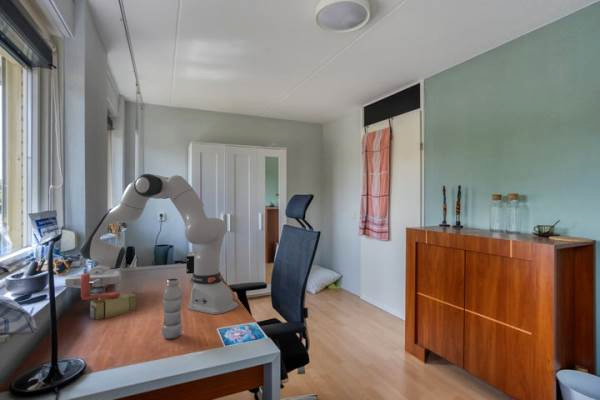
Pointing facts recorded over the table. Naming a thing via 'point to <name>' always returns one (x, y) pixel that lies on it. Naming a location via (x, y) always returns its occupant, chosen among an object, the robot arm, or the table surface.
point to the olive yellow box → (112, 305)
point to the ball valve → (190, 264)
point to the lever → (86, 289)
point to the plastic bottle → (172, 310)
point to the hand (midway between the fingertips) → (88, 284)
